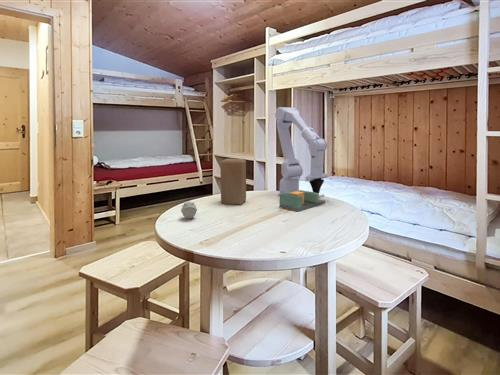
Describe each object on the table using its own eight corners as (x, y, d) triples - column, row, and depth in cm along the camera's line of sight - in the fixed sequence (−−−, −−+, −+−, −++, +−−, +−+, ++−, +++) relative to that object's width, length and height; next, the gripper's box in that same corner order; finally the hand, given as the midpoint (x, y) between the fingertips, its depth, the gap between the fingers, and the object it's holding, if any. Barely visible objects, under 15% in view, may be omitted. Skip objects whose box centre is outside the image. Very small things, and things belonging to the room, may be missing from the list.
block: (241, 205, 150) (241, 161, 146) (220, 204, 152) (219, 160, 148) (246, 200, 160) (246, 158, 156) (226, 199, 162) (225, 158, 158)
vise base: (279, 207, 147) (279, 194, 146) (306, 200, 160) (307, 187, 159) (297, 211, 140) (297, 197, 139) (324, 203, 153) (325, 190, 152)
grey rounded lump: (182, 221, 126) (181, 203, 124) (180, 216, 132) (179, 199, 131) (198, 220, 127) (197, 202, 126) (196, 215, 134) (195, 198, 133)
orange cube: (289, 204, 147) (289, 192, 146) (296, 202, 150) (296, 191, 149) (296, 205, 144) (297, 194, 143) (303, 203, 147) (304, 192, 146)
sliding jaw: (297, 199, 155) (298, 190, 155) (306, 196, 160) (307, 188, 159) (315, 202, 148) (316, 193, 148) (324, 200, 153) (325, 191, 152)
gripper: (315, 167, 146) (314, 198, 148) (333, 165, 156) (331, 193, 158) (301, 166, 151) (301, 196, 153) (320, 163, 161) (319, 191, 163)
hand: (315, 194), depth 156 cm, fingers closed
